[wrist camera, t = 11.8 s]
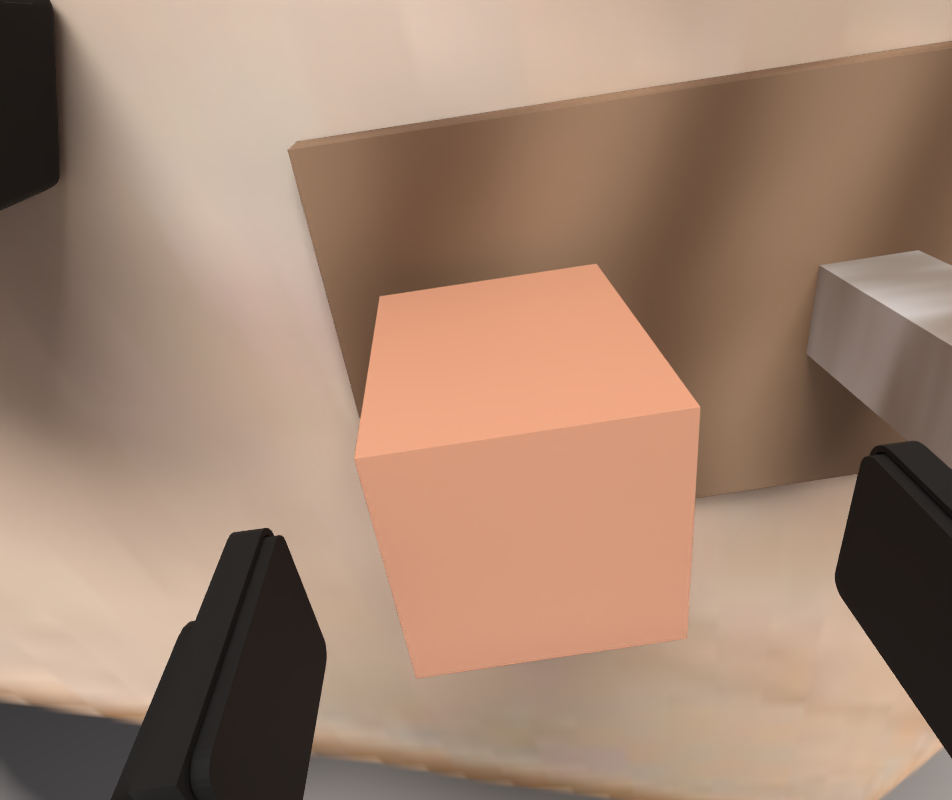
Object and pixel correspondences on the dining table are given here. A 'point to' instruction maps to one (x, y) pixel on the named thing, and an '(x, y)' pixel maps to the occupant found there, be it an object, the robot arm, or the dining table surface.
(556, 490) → the salmon pink foam cube
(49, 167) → the battery
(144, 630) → the dining table surface
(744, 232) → the peg stand
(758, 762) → the dining table surface
